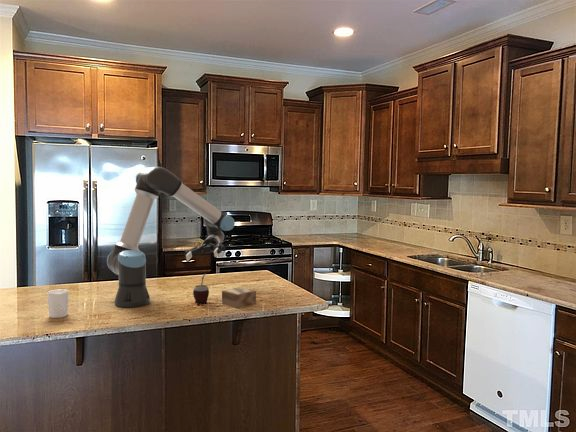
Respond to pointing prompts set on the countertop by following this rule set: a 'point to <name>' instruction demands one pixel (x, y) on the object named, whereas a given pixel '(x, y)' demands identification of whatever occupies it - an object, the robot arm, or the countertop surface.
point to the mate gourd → (201, 293)
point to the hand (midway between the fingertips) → (200, 256)
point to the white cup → (58, 303)
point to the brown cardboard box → (238, 297)
